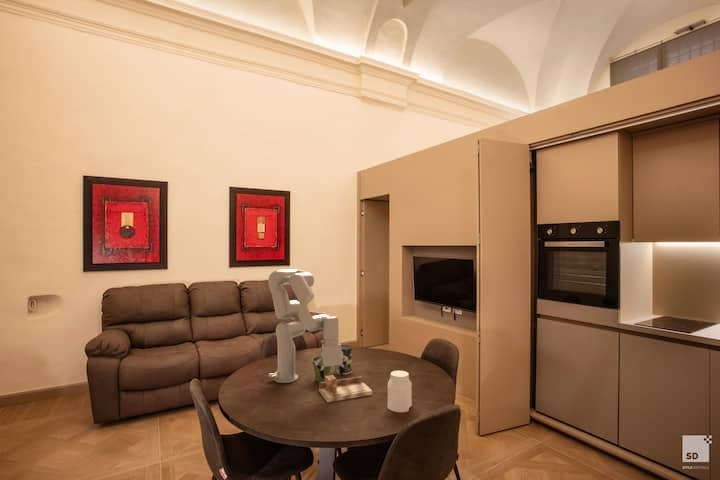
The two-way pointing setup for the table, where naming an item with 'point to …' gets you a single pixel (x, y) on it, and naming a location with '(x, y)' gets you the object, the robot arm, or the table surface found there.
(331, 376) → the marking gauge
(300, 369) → the table surface
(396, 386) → the jar
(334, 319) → the robot arm
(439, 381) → the table surface
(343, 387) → the board
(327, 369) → the plant pot
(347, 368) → the coffee can
